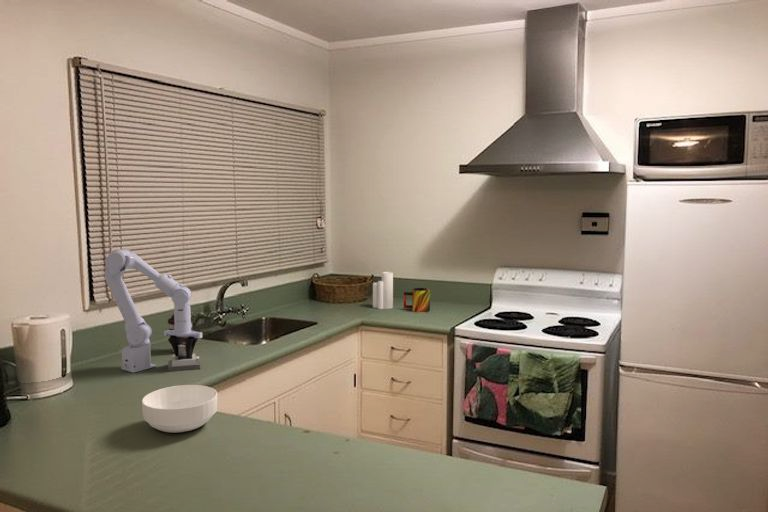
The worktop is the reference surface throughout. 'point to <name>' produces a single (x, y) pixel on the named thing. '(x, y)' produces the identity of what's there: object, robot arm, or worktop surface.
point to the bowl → (179, 407)
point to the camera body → (183, 363)
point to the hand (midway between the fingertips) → (183, 356)
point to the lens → (182, 351)
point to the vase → (383, 292)
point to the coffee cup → (172, 327)
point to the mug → (419, 300)
